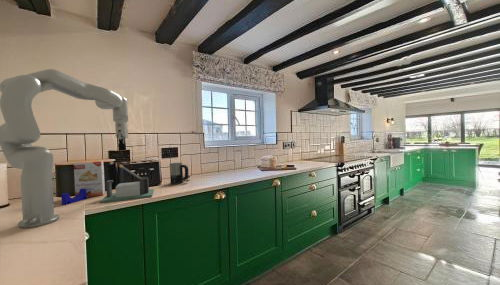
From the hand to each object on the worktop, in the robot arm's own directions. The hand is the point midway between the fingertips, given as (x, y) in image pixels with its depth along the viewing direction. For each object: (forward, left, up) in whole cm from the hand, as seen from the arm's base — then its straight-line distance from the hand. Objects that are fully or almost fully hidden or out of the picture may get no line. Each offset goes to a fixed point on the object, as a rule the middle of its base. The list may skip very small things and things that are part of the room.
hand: (122, 150), depth 132 cm
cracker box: (+13, +21, -27) cm, 37 cm away
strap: (0, -4, -14) cm, 15 cm away
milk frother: (+31, -32, -27) cm, 53 cm away
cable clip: (+3, +26, -28) cm, 38 cm away
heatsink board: (0, -2, -27) cm, 27 cm away
